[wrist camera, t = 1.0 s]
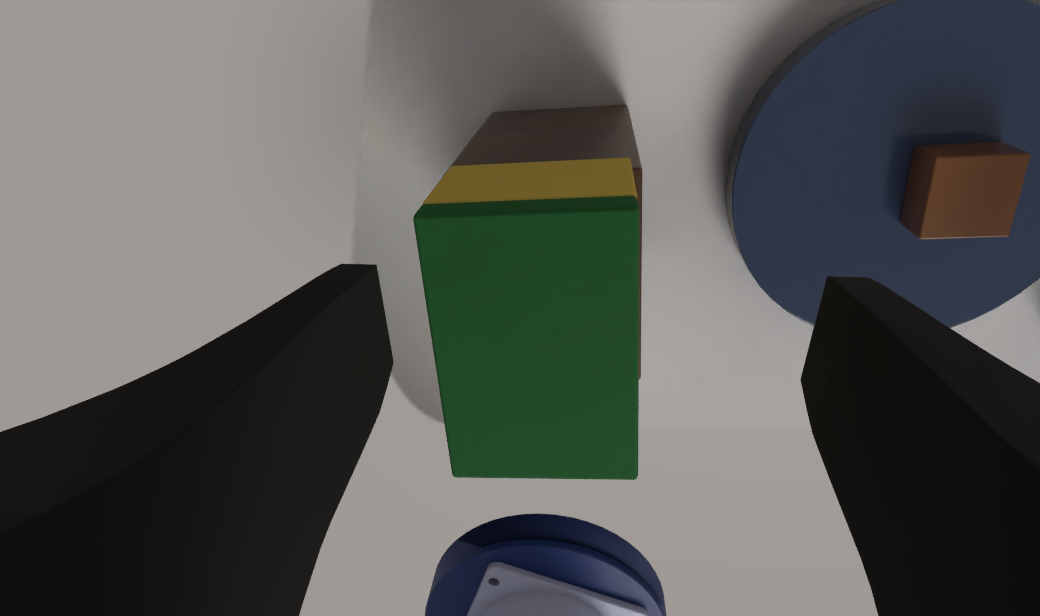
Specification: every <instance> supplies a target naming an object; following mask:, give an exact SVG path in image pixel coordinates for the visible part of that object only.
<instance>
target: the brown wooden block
mask: <svg viewBox="0 0 1040 616" xmlns="http://www.w3.org/2000/svg"><path fill="white" fill-rule="evenodd" d="M608 158H630V160H631V164H632V170H633V176H634V181H635V187H636V193H637V200H638V206H639V369H638V380H639V379H640V377H641V253H642V167H641V163H640V158H639V154H638V149H637V145H636V141H635V136H634V132H633V127H632V123H631V119H630V114H629V110H628V106H627V105H612V106H595V107H578V108H561V109H544V110H527V111H510V112H493V113H492V114H491V115H490V116H489V117H488V119H487V120H486V121H485V123H484V124H483V125H482V126H481V128H480V129H479V130H478V132H477V133H476V134H475V136H474V137H473V138H472V139H471V141H470V142H469V143H468V145H467V146H466V147H465V148H464V150H463V151H462V152H461V154H460V155H459V156H458V157H457V159H456V160H455V161H454V163H453V164H452V165H451V166H450V167H452V166H464V165H484V164H505V163H526V162H546V161H567V160H588V159H608ZM449 169H450V168H449ZM449 169H448V170H449ZM448 170H447V171H448ZM446 173H447V172H446ZM446 173H445V174H446ZM445 174H444V175H445ZM442 178H443V177H442Z"/></svg>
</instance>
